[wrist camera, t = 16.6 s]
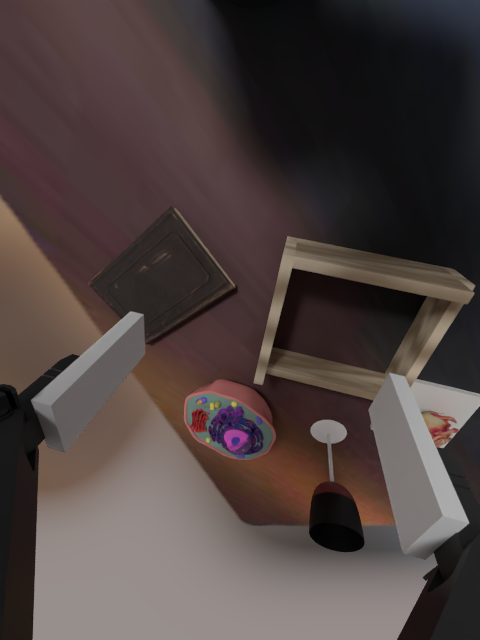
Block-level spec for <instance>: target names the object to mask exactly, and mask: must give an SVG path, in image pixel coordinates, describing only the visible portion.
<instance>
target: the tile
mask: <svg viewBox="0 0 480 640" xmlns="http://www.w3.org/2000/svg"><path fill="white" fill-rule="evenodd" d="M410 389H411V391H412V393H413V396H414V398H415V400H416V403H417V405H418V407H419V409H420V412H421V414H422V413H423V412H425V411H434V412H437V413H440V414H439V415H441V416H450V417H454V419H455V420H456V421H457V423H454V422H452V421H450V420H449V421H448V423H449V424H451V427H450V428H449V429H453V428H456V429H458V430H459V429H460V428H461V427H462V426H463V425H464V424H465V422H466V421H467V420H468V419H469V418H470V417H471V415H472V414H473V413H474V412H475V411H476V410H477V408H478V407H479V406H480V394H478V393H474V392H470V391H465V390H461V389H457V388H453V387H448V386H444V385H440V384H436V383H432V382H427V381H423V380H419V379H416V380H415V381H414V383H413V384H412V386H411V388H410ZM441 413H445V414H441ZM370 428H371V430H373V427H372V423H371V425H370ZM451 434H452V435H451V436H450V437H449V438H451V439H452V438H453V436H454V435H455V434H456V433H451ZM447 443H448V442H447ZM447 443H446V444H443V445H442V446H440V448H444V447H445V446H446V445H447Z"/></svg>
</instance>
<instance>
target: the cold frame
mask: <svg viewBox="0 0 480 640" xmlns="http://www.w3.org/2000/svg"><path fill="white" fill-rule="evenodd" d="M292 268H295V269H300V270H305V271H309V272H314V273H319V274H324V275H329V276H333V277H338V278H343V279H348V280H353V281H357V282H362V283H367V284H372V285H377V286H381V287H386V288H391V289H396V290H400V291H405V292H410V293H415V294H420V295H424V296H427V297H426V299H425V301H424V303H423V305H422V306H421V308H420V310H419V312H418V314H417V316H416V317H415V319H414V321H413V323H412V325H411V326H410V328H409V330H408V332H407V334H406V336H405V337H404V339H403V341H402V343H401V345H400V346H399V348H398V350H397V352H396V354H395V355H394V357H393V359H392V361H391V363H390V365H389V366H388V368H387V370H386V372H385V374H384V373H380V372H375V371H371V370H367V369H363V368H359V367H354V366H350V365H346V364H342V363H338V362H334V361H329V360H325V359H321V358H317V357H313V356H308V355H304V354H300V353H296V352H292V351H287V350H283V349H279V348H275V347H272V346H273V342H274V338H275V334H276V330H277V326H278V322H279V318H280V314H281V310H282V306H283V302H284V298H285V294H286V290H287V286H288V282H289V278H290V275H291V271H292ZM474 287H475V285H474V284H473V283H471V282H470V281H469V280H467V279H466V278H465V277H464V276H462V275H461V274H460V273H459V272H457V271H456V270H455V269H451V268H446V267H441V266H436V265H431V264H426V263H421V262H416V261H410V260H405V259H400V258H395V257H390V256H385V255H380V254H375V253H370V252H365V251H360V250H355V249H350V248H345V247H340V246H335V245H330V244H325V243H319V242H314V241H309V240H304V239H299V238H294V237H289V236H287V240H286V244H285V248H284V252H283V256H282V261H281V265H280V270H279V274H278V278H277V283H276V287H275V291H274V296H273V300H272V304H271V309H270V313H269V318H268V322H267V326H266V331H265V335H264V339H263V344H262V348H261V352H260V357H259V361H258V366H257V370H256V374H255V379H254V383H255V384H259V385H263V381H264V377H265V373H266V374H270V375H274V376H278V377H282V378H286V379H290V380H294V381H298V382H302V383H306V384H310V385H314V386H318V387H322V388H326V389H330V390H334V391H338V392H342V393H346V394H350V395H354V396H358V397H362V398H366V399H370V400H374V399H375V397H376V396H377V394H378V392H379V390H380V388H381V387H382V385H383V383H384V381H385V379H386V378H387V376H388V374H389V373H393V374H397V375H401V376H405V378H406V380H407V382H408V384H409V387H410V388H411V386H412V384H413V383H414V381H415V380H416V378H417V377H418V375H419V373H420V372H421V370H422V369H423V367H424V366H425V364H426V363H427V361H428V359H429V358H430V356H431V355H432V353H433V352H434V350H435V348H436V347H437V345H438V344H439V342H440V341H441V339H442V337H443V336H444V334H445V333H446V331H447V330H448V328H449V326H450V325H451V323H452V322H453V320H454V319H455V317H456V315H457V314H458V312H459V311H460V309H461V308H462V306H463V304H468V303H469V301H470V300H471V298H472V297H473V295H474V294H475V293H474V292H473V291H472V290H473V289H474Z"/></svg>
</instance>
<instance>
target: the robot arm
mask: <svg viewBox="0 0 480 640" xmlns="http://www.w3.org/2000/svg"><path fill="white" fill-rule="evenodd" d="M229 1H231V2H233V3H235V4H238V5H242V6H251V7H252V6H262V5H265V4H269V3H271V2H273V1H276V0H229ZM144 355H145V334H144V314H140V313H136V312H131V311H130V312H129V313H128V314H127V315H126V316H125V317H124V318H122V319H121V320H120V321H119V322H118V323H117V324H116V325H115V326H113V327H112V328H111V329H110V330H109V331H108V332H107V333H106V334H105V335H103V336H102V337H101V338H100V339H99V340H98V341H97V342H96V343H94V344H93V345H92V346H91V347H90V348H89V349H88V350H87V351H85V352H84V353H83V354H82V355H81V356H77V355H74V354H72V355H70V356H68V357H66V358H64V359H61V360H60V361H59V362H57V363H56V364H55V365H54V366H53V367H52V368H51V369H50V370H48V371H47V372H45V373H44V375H43V376H41V377H39V378H38V379H37V380H36V381H35V382H33V383H32V384H31V385H30V386H29V387H27V388H26V389H25V390H24V391H23V392H21V393H20V394H19V395H18V394H17V392H16V389H15V388H14V387H12V386H10V385H5V384H2V385H0V640H32V638H33V609H34V578H35V577H34V576H35V550H36V521H37V491H38V490H37V489H38V462H39V450H38V445H39V444H40V443H41V442H42V441H43V440H44V439H45V441H46V444H47V447H48V448H51V449H55V450H58V451H61V452H66V451H67V450H68V448H69V447H70V446H71V445H72V443H73V442H74V441H75V440H76V439H77V437H78V436H79V435H80V434H81V432H82V431H83V430H84V429H85V427H86V426H87V425H88V424H89V423H90V421H91V420H92V419H93V418H94V416H95V415H96V414H97V413H98V411H99V410H100V409H101V408H102V406H103V405H104V404H105V403H106V402H107V400H108V399H109V398H110V397H111V395H112V394H113V393H114V392H115V391H116V389H117V388H118V387H119V386H120V384H121V383H122V382H123V381H124V379H125V378H126V377H127V376H128V374H129V373H130V372H131V371H132V370H133V368H134V367H135V366H136V365H137V363H138V362H139V361H140V360H141V358H142V357H143V356H144ZM369 414H370V418H371V423H372V427H373V431H374V435H375V439H376V444H377V448H378V452H379V456H380V460H381V464H382V469H383V473H384V477H385V481H386V485H387V490H388V494H389V498H390V502H391V506H392V510H393V515H394V519H395V523H396V527H397V531H398V536H399V540H400V544H401V548H402V552H403V553H404V554H408V555H411V556H414V557H418V558H421V559H424V560H425V559H427V558H428V557H429V556H430V555H431V554H433V553H434V554H435V558H436V561H437V564H438V566H436V567H435V568H434V569H432V570H431V571H430V572H428V573H427V574H426V575H425V576H424V577H423V578H424V579H425V580H427V579H428V581H427V583H426V585H425V587H424V589H423V590H422V593H421V594H420V596H419V598H418V600H417V602H416V604H415V606H414V608H413V610H412V612H411V614H410V616H409V618H408V620H407V622H406V623H405V626H404V627H403V629H402V631H401V633H400V635H399V637H398V639H397V640H480V506H479V504H478V502H477V500H476V498H475V496H474V494H473V492H472V491H471V490H470V489H471V488H470V486H469V484H468V482H467V480H465V476H464V474H463V472H462V470H461V468H460V465H459V464H458V462H457V461H456V460H455V459H454V458H453V456H452V455H451V454H450V453H449V452H448V451H447V450H443V449H439V448H436V446H435V444H434V441H433V439H432V437H431V434H430V432H429V430H428V428H427V425H426V423H425V421H424V419H423V416H422V414H421V412H420V409H419V407H418V405H417V403H416V400H415V398H414V396H413V393H412V391H411V389H410V387H409V384H408V382H407V380H406V378H405V376H401V375H397V374H393V373H389V374H388V376H387V378H386V379H385V381H384V383H383V385H382V387H381V388H380V390H379V392H378V394H377V396H376V397H375V399H374V401H373V403H372V404H371V406H370V408H369Z"/></svg>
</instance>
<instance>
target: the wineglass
mask: <svg viewBox="0 0 480 640" xmlns="http://www.w3.org/2000/svg"><path fill="white" fill-rule="evenodd" d="M310 432H311V435H312V436H313V437H314V438H315V439H316V440H318V441H320V442H322V443H327V446H328V461H329V475H330V482H324V483H321V484H320V485H318V486H317V487H316V489H315V490H314V493H313V496H312V501H311V508H310V521H309V534H310V537H311V538H312V539H313V540H314V541H315V542H316V543H318V544H319V545H321V546H323V547H325V548H328V549H331V550H334V551H339V552H353V551H357V550H359V549H361V548H362V547H363V546H364V536H363V530H362V526H361V521H360V516H359V512H358V509H357V506H356V503H355V501H354V499H353V497H352V495H351V494H350V492H349V491H348V490H347V489H346V488H344V487H343V486H341V485H340V484H338V483H335V482H334V473H333V461H332V449H331V444H332V443H338V442H340V441H342V440H343V439H344V438H345V437H346V435H347V431H346V429H345V427H344V426H343V425H342V424H340V423H339V422H336V421H333V420H321V421H317V422H316V423H314V424H313V425H312V427H311V430H310Z"/></svg>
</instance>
